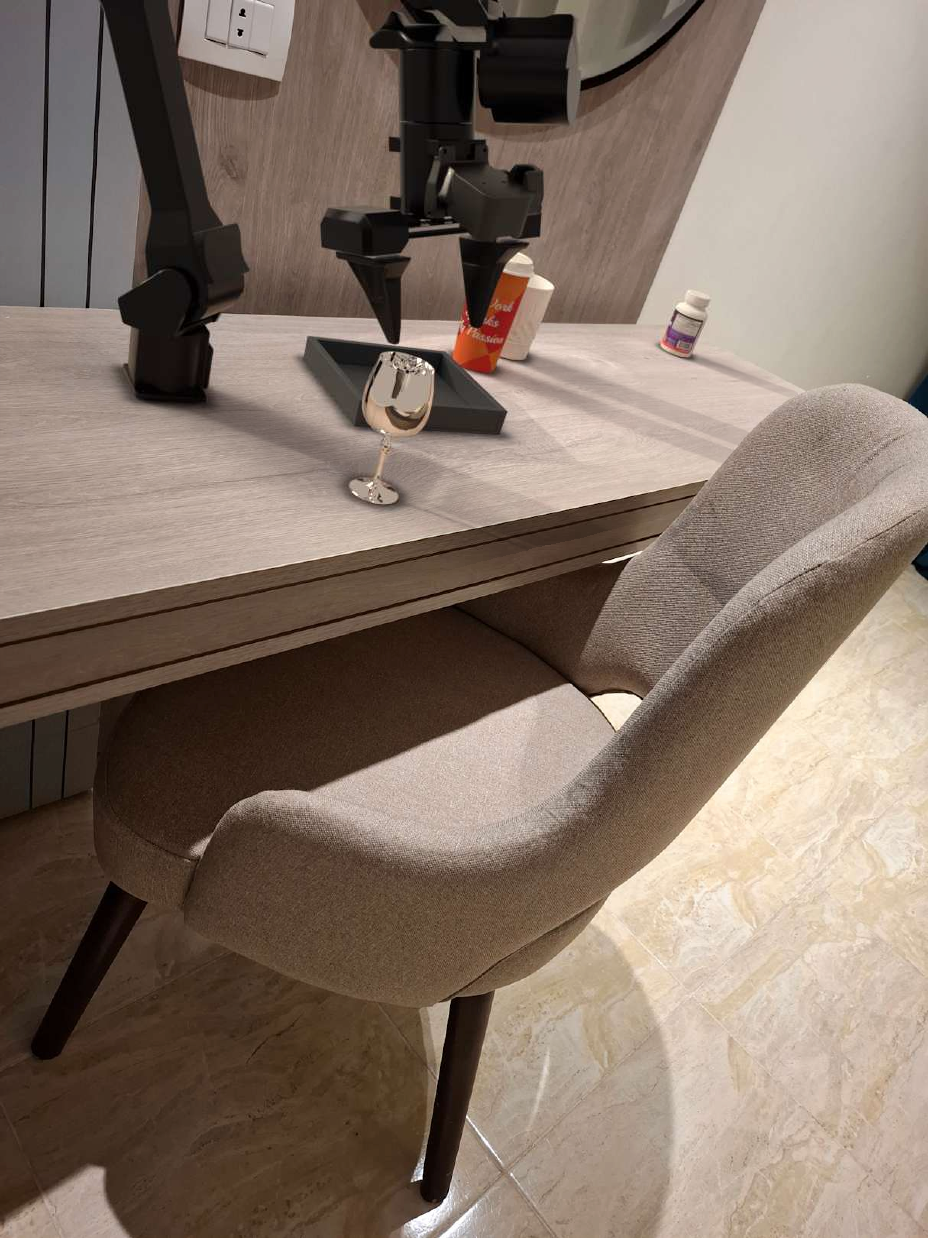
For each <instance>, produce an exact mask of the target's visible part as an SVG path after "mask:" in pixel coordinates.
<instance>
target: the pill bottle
mask: <svg viewBox="0 0 928 1238" xmlns="http://www.w3.org/2000/svg"><path fill="white" fill-rule="evenodd" d="M711 300H712V298H711V296H709V295H707V294H706V293H704V292H701V291H698V290H695V289H687V291H686V293H685V295H684V301H681V302H678V303H677V304H676V306H675V309H674V311H673V312H672V316H671V317H670V320H669V323H668V326H667V327H666V330H665V333H664V335H663V338H662V340H661V342H660V347H661V349H662V350H664V351H665V352H667V353H669V354H671V355H674V356H677V357H680V358H690V357H691V356H692V354H693V353H694V350H695V347H696V345H697V342H698V340H699V338H700V335H701V333H702V331H703V329H704V327H705V324H706V322H707V319H708V316H709V314H708V312H707V310H706V308H708V307H709V304H710V302H711Z"/></svg>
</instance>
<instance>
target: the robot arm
mask: <svg viewBox="0 0 928 1238" xmlns="http://www.w3.org/2000/svg"><path fill="white" fill-rule="evenodd" d="M98 2H99V4H100V5H101V8H102V11H103V14H104V18H105V22H106V26H107V30H108V35H109V39H110V43H111V48H112V52H113V57H114V60H115V64H116V69H117V73H118V77H119V81H120V86H121V90H122V94H123V99H124V102H125V107H126V111H127V115H128V119H129V123H130V128H131V132H132V136H133V140H134V145H135V149H136V153H137V157H138V161H139V166H140V169H141V174H142V178H143V183H144V186H145V187H144V188H145V190H146V195H147V199H148V204H149V210H150V213H149V214H150V215H149V221H148V227H147V230H146V231H147V232H146V237H145V243H144V249H143V253H144V262H145V263H144V265H145V273H146V280H144V281H142V282H141V283H140V284H138V285H136V286H135V287H133V288H132V289H129V290H128V291H127V292H125V293H123V294H122V295H119V296H118V297H117V305H118V309H119V315H120V318H121V323H122V324H124V325H126V326H129V327H130V334H129V335H130V336H129V347H128V357H127V358H128V359H127V360H128V361H127V362H124V363H123V364H122V371H123V373H124V375H125V378H126V380H127V382H128V384H129V386H130V388H131V391H132V393H133V395H134V396H135V398H138V399H144V400H145V399H146V400H147V399H148V400H161V401H175V402H191V403H207V402H208V399H209V398H208V395H207V393H206V391H205V390H207V389H208V388H209V386H210V379H211V372H212V364H213V359H214V358H213V357H214V351H215V349H214V347H213V346H212V344H211V342H210V338H211V332H210V330H209V329H208V327H207V326H206V325H209V324H211V323H213V324H214V323H216V322H218V321H219V319H220V317H221V315H222V314H223V312H224V311H225V310H229V309H230V308H232V307H233V306H235V305H236V304H237V302H238V301H239V299H240V298H241V296H242V294H243V293H244V290H245V285H246V284H245V274H246V273H249V272H250V268H249V266H248V264H247V262H246V260H245V257H244V254H243V248H242V235H241V234H242V233H241V230H240V227H239V224H238V223H237V222H232V223H228V224H224V223H223V222H222V220H221V219H220V218H219V216H218V214H217V213H216V211H215V210H214V208H213V207H212V205H211V203H210V200H209V196H208V191H207V188H206V181H205V177H204V173H203V168H202V162H201V157H200V154H199V148H198V144H197V138H196V135H195V134H196V133H195V129H194V124H193V120H192V114H191V110H190V105H189V100H188V96H187V91H186V86H185V81H184V77H183V72H182V68H181V67H182V66H181V62H180V58H179V53H178V47H177V42H176V38H175V33H174V29H173V24H172V19H171V14H170V10H169V8H170V7H169V0H98ZM401 2H402V3H404V4H406V5H407V6H408V7H410V8H412V9H416V10H418V11H422V12H427V13H431V14H435V15H439V16H441V17H446V18H447V19H448V20H449V21H450V22H451V23H453V24H454V25H455V26H456V27H460V28H463V29H468V30H472V31H476V32H480V33H484V34H485V41H454V38H453V35H452V31H451V30H450V27H449V26H448V25H446V24H444V23H443V24H442V23H435V24H434V23H410V21H409V20H408V19H407V17H406V15H405V14H404V13H403V12H399V11H395V10H391V11H390V12H389V13H388V15H387V17H386V20H385V21H384V23H383V24H382V25H381V26H380V28H378V29H377V31H376V32H375V33H374V34H372V35H371V37H369V40H368V45H369V47H370V48H371V49H373V50H380V51H389V52H397V63H398V65H397V66H398V69H397V70H398V71H397V73H398V121H399V122H398V132H399V133H398V136H388V152H391V153H399V195H389V208H386V207H380V206H374V205H367V204H360V205H345V206H334V207H333V206H332V207H328V208H327V209H326V211H325V212H324V215H323V217H322V219H321V221H320V224H319V227H320V244H321V245H320V246H321V248H323V249H328V250H332V251H335V257H336V259H338V260H342V261H346V263H347V264H348V266H349V268H350V270H351V272H352V273H353V275H354V276H355V278H356V280H357V282H358V283H359V285H360V287H361V288H362V290H363V293H365V294H364V295H365V296H366V298H367V300H368V303H369V305H370V307H371V309H372V311H373V313H374V315H375V317H376V318H375V319H376V320H377V322H378V325H379V326H380V329H381V331H382V333H383V335H384V337H385V339H386V342H387V343H388V344H390V345H394V346H397V345H399V344H400V341H401V330H402V277H403V275H404V273H405V271H406V269H407V268H408V266H409V264H410V263H411V261H412V257H411V256H406V255H401V253H402V252H403V251H404V249H405V248H406V246H407V244H408V243H409V242H410V240H413V239H421V238H432V237H433V238H434V237H440V236H441V237H442V236H451V235H460V234H469V235H466V236H465V235H464V236H459V237H458V245H459V253H460V262H461V269H462V278H463V279H462V280H463V287H464V288H463V289H464V294H465V295H464V296H465V299H466V306H467V312H468V317H469V321H470V326H471V327H473V328H477V329H479V328H481V327H482V326H483V323H484V320H485V317H486V315H487V312H488V309H489V306H490V303H491V301H492V298H493V295H494V292H495V289H496V287H497V284H498V281H499V279H500V277H501V274H502V272H503V270H504V268H505V266H506V264H507V263H508V261H509V260H511V259H512V258H513V257H514V256H515V255H516V254H517V253H518V252H519V253H520V252H521V251H523V250H527V249H528V247H529V246H530V244H531V242H530V241H525V240H524V239H535V238H541V229H542V228H541V227H542V226H541V225H542V214H543V213H542V210H543V205H542V204H543V200H544V197H545V185H544V184H545V180H544V179H545V177H544V170H542V169H541V168H539V167H538V166H537V165H535V164H534V163H516V164H514V166H512V168H510V170H508V169H507V168H504V169H498V168H496V167H493V166H492V165H490V161H489V152H490V151H489V147H488V144H487V139H485V138H476V107H477V106H476V103H477V102H476V101H477V100H476V99H477V93H478V100H479V104H480V106H481V109H484V110H490V112H491V114H492V115H491V116H492V119H493V122H494V123H495V124H496V125H509V126H510V125H511V126H539V127H540V126H545V127H573V125H574V124H575V120H576V117H577V113H578V108H579V101H580V93H581V82H582V70H581V69H579V67H580V50H579V40H578V26H579V19H578V17H577V16H576V15H574V14H572V13H554V14H549V15H546V16H508V13H507V12H506V10H505V9H504V5H503V4H502V3H501V2H500V0H401ZM478 53H479V60H477V59H478V58H477V57H478V55H477V54H478ZM477 61H478V68H477ZM477 69H478V71H477Z"/></svg>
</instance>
